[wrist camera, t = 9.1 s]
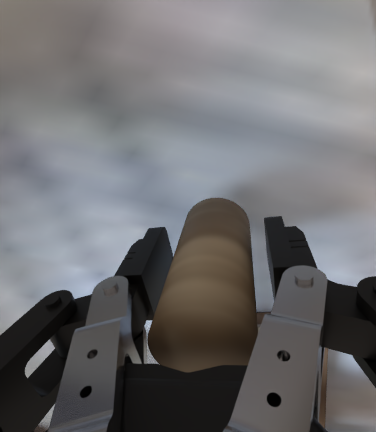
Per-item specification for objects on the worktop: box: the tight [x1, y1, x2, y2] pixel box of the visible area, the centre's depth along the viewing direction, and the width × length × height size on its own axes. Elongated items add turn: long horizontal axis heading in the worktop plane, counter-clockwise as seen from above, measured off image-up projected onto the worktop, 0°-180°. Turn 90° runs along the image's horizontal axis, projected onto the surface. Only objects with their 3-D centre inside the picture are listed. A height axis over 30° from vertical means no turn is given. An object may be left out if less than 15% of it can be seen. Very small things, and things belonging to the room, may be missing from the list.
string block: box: [148, 198, 258, 372], centre depth 15 cm, size 19×7×7 cm, turn 11°
